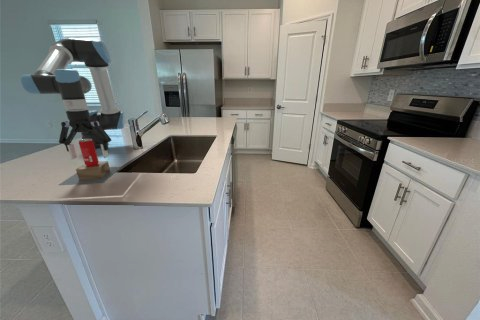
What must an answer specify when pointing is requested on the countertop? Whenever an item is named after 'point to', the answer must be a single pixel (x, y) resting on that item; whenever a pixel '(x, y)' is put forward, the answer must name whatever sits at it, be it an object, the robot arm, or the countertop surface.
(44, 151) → the countertop surface
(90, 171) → the base block
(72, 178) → the mat
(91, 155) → the beverage can
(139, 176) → the countertop surface
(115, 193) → the countertop surface
